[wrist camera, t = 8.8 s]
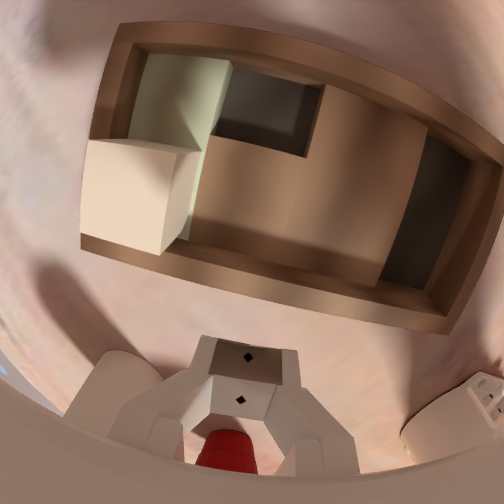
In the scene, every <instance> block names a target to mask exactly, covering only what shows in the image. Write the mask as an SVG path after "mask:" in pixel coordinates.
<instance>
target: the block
mask: <svg viewBox="0 0 504 504" xmlns="http://www.w3.org/2000/svg"><path fill="white" fill-rule="evenodd" d="M201 155H202V151H198V150H193V149H188V148H183V147H178V146H172V145H167V144H161V143H156V142H150V141H143V140H137V139H96V140H88V144H87V150H86V157H85V165H84V173H83V182H82V193H81V208H80V233H84V234H87V235H90V236H94V237H97V238H100V239H103V240H107V241H110V242H113V243H117V244H120V245H124V246H127V247H130V248H134V249H137V250H141V251H144V252H148V253H151V254H155V255H158V256H160V255H161V253H162V252H163V251H164V250H165V249H166V248H167V247H168V246H169V245H170V244H171V243H172V242H173V241H174V239H175V238H176V237H177V236H178V235H179V234H180V233H181V232H182V231H183V230H184V229H185V228H186V226H187V221H188V216H189V210H190V205H191V200H192V196H193V191H194V186H195V181H196V177H197V172H198V168H199V163H200V159H201Z"/></svg>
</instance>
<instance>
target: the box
mask: <svg viewBox="0 0 504 504" xmlns="http://www.w3.org/2000/svg"><path fill="white" fill-rule="evenodd" d="M96 139H137V140H143V141H150V142H156V143H161V144H167V145H172V146H178V147H183V148H188V149H193V150H198V151H202V155H201V159H200V163H199V168H198V172H197V177H196V181H195V186H194V191H193V196H192V200H191V205H190V210H189V216H188V221H187V226H186V228H185V229H184V230H183V231H182V232H181V233H180V234H179V235H178V236H177V237H176V238H175V239H174V241H173V242H172V243H171V244H170V245H169V246H168V247H167V248H166V249H165V250H164V251H163V252H162V253H161V255H160V256H158V255H155V254H151V253H148V252H144V251H141V250H137V249H134V248H130V247H127V246H124V245H120V244H117V243H113V242H110V241H107V240H103V239H100V238H97V237H94V236H90V235H87V234H84V233H81V249H82V250H85V251H88V252H91V253H94V254H98V255H101V256H104V257H107V258H110V259H114V260H117V261H120V262H124V263H127V264H130V265H134V266H137V267H140V268H144V269H147V270H151V271H154V272H158V273H161V274H165V275H168V276H172V277H176V278H179V279H183V280H187V281H190V282H194V283H198V284H202V285H206V286H209V287H213V288H217V289H221V290H225V291H229V292H233V293H237V294H241V295H245V296H249V297H254V298H258V299H262V300H266V301H271V302H275V303H279V304H284V305H288V306H293V307H297V308H302V309H306V310H311V311H316V312H321V313H325V314H330V315H335V316H340V317H345V318H350V319H355V320H361V321H366V322H371V323H377V324H382V325H388V326H394V327H400V328H406V329H412V330H418V331H424V332H431V333H437V334H444V335H449V334H450V332H451V330H452V329H453V327H454V325H455V324H456V322H457V320H458V318H459V317H460V315H461V313H462V311H463V309H464V308H465V306H466V304H467V302H468V300H469V298H470V296H471V294H472V292H473V290H474V288H475V286H476V284H477V282H478V280H479V277H480V275H481V273H482V271H483V268H484V266H485V264H486V261H487V259H488V257H489V254H490V252H491V249H492V247H493V244H494V241H495V238H496V236H497V233H498V230H499V227H500V224H501V221H502V218H503V215H504V145H503V144H502V143H501V142H500V141H499V140H498V139H496V138H495V137H494V136H493V135H491V134H490V133H489V132H488V131H486V130H485V129H484V128H482V127H481V126H480V125H478V124H477V123H476V122H474V121H473V120H472V119H470V118H469V117H467V116H466V115H465V114H463V113H462V112H460V111H459V110H457V109H456V108H454V107H453V106H451V105H450V104H448V103H446V102H445V101H443V100H442V99H440V98H438V97H437V96H435V95H433V94H432V93H430V92H428V91H426V90H425V89H423V88H421V87H419V86H417V85H415V84H414V83H412V82H410V81H408V80H406V79H404V78H402V77H400V76H398V75H396V74H394V73H392V72H389V71H387V70H385V69H383V68H381V67H378V66H376V65H374V64H371V63H369V62H367V61H364V60H362V59H359V58H357V57H354V56H351V55H349V54H346V53H343V52H340V51H337V50H334V49H331V48H328V47H325V46H322V45H319V44H316V43H312V42H309V41H305V40H301V39H298V38H294V37H290V36H285V35H281V34H277V33H272V32H267V31H262V30H256V29H251V28H244V27H238V26H230V25H222V24H212V23H199V22H175V21H156V22H133V23H120V24H119V27H118V30H117V32H116V35H115V38H114V41H113V44H112V47H111V50H110V53H109V56H108V59H107V62H106V65H105V69H104V72H103V76H102V80H101V83H100V87H99V91H98V95H97V100H96V104H95V109H94V113H93V118H92V124H91V129H90V135H89V140H96Z"/></svg>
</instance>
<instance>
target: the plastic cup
mask: <svg viewBox="0 0 504 504" xmlns="http://www.w3.org/2000/svg"><path fill="white" fill-rule="evenodd" d="M195 465H198V466H203V467H208V468H214V469H219V470H226V471H233V472H240V473H248V474H258V471H257V465H256V461H255V457H254V449H253V444H252V441H251V439H250V438H249V437H248V436H247V435H245V434H243V433H240V432H237V431H231V430H218V431H215V432H212V433H211V434H210V435H209V436H208V438H207V439H206V441H205V444H204V446H203V449H202V451H201V453H200V454H199V456H198V459H197V461H196V463H195Z"/></svg>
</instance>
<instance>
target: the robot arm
mask: <svg viewBox="0 0 504 504" xmlns="http://www.w3.org/2000/svg"><path fill="white" fill-rule="evenodd" d="M209 413H215V414H221V415H228V416H235V417H241V418H247V419H253V420H260V421H264V423H265V425H266V427H267V428H268V430H269V432H270V433H271V435H272V437H273V438H274V440H275V442H276V443H277V445H278V446H279V448H280V450H281V451H282V453H283V454H284V456H285V459H284V461H283V462H282V464H281V465H280V467H279V468H278V470H277V471H276V472H275V474H274V475H273V476H271V475H258V474H248V473H240V472H233V471H226V470H219V469H214V468H208V467H203V466H198V465H193V464H189V463H185V461H184V442H183V437H184V436H185V435H186V434H187V433H188V432H190V431H191V430H192V429H193V428H194V427H195V426H197V425H198V424H199V423H200V422H201V421H202V420H203V419H204V418H206V417H207V416H208V415H209ZM400 438H401V440H402V442H403V443H404V444H405V450H406V452H407V453H408V454H410V455H411V457H412V459H413V461H414V463H415V465H413V466H409V467H404V468H398V469H393V470H387V471H380V472H373V473H365V474H360V469H359V463H358V458H357V453H356V447H355V442H354V438H353V437H352V436H351V435H350V434H349V433H348V432H347V431H346V430H345V429H344V428H343V427H342V426H341V424H340V423H339V422H338V421H337V420H336V419H335V418H334V417H333V416H332V415H331V414H330V413H329V412H328V411H327V410H326V409H325V408H324V407H323V406H322V405H321V404H320V403H319V401H318V400H317V399H316V398H315V397H314V396H313V395H312V394H311V393H310V392H309V391H308V390H307V389H306V388H301V379H300V369H299V359H298V352H297V351H296V350H289V349H278V348H270V347H263V346H257V345H250V344H245V343H240V342H235V341H230V340H225V339H220V338H215V337H210V336H205V335H202V336H201V337H200V340H199V343H198V346H197V348H196V351H195V354H194V357H193V360H192V363H191V365H190V368H189V370H188V369H183V370H181V371H180V372H178V373H176V374H175V375H173V376H171V377H169V378H168V379H166V380H164V381H163V382H161V383H159V384H157V385H156V386H154V387H152V388H150V389H148V390H147V391H145V392H143V393H141V394H139V395H138V396H136V397H134V398H132V399H130V400H128V401H127V402H125V403H124V404H123V406H122V408H121V410H120V412H119V414H118V416H117V418H116V420H115V422H114V424H113V426H112V428H111V430H110V432H109V434H108V436H107V438H106V437H104V436H101V435H99V434H97V433H94V432H92V431H90V430H88V429H86V428H83V427H81V426H79V425H77V424H75V423H73V422H71V421H69V420H67V419H65V418H63V417H61V416H59V415H57V414H56V413H53V412H52V411H50V410H48V409H47V408H45V407H43V406H41V405H40V404H38V403H36V402H35V401H33V400H31V399H30V398H28V397H27V396H25V395H24V394H22V393H21V392H19V391H18V390H16V389H15V388H13V387H12V386H10V385H9V384H8V383H6V382H5V381H3V380H2V379H1V378H0V504H504V379H501V378H498V377H495V376H493V375H490V374H487V373H484V372H481V371H480V372H477V373H476V374H474V375H473V376H472V377H471V378H469V379H468V380H467V381H466V382H464V383H463V384H462V385H460V386H459V387H457V388H455V389H453V390H451V391H450V392H448V393H446V394H444V395H443V396H441V397H439V398H438V399H436V400H435V401H433V402H432V403H430V404H429V405H428V406H426V407H425V408H424V409H422V410H421V411H420V412H419V413H418V414H416V415H415V416H414V417H413V418H412V419H411V420H410V421H409V422H408V423H407V425H406V426H405V427H404V429H403V430H402V432H401V436H400Z"/></svg>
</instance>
